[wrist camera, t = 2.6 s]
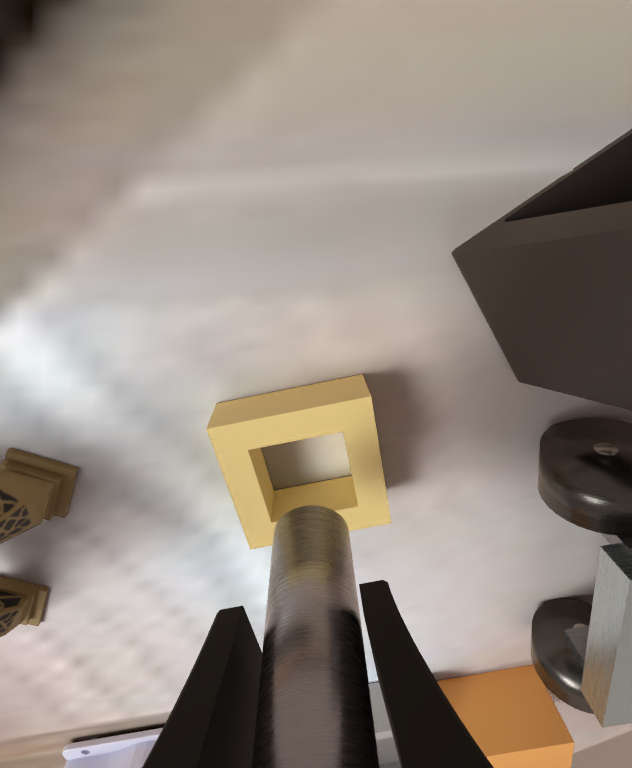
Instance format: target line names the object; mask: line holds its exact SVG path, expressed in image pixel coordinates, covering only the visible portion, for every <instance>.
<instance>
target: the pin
mask: <svg viewBox="0 0 632 768" xmlns="http://www.w3.org/2000/svg"><path fill="white" fill-rule="evenodd" d="M252 768H380V767H379V759H378V752H377V744H376V736H375V729H374V721H373V713H372V706H371V698H370V690H369V683H368V675H367V667H366V660H365V652H364V644H363V637H362V629H361V621H360V614H359V606H358V598H357V591H356V583H355V575H354V568H353V560H352V552H351V545H350V537H349V529H348V525H347V523H346V521H345V520H344V518H343V517H342V516H341V515H340V514H338V513H337V512H335V511H334V510H332V509H329V508H326V507H323V506H316V505H308V506H301V507H298V508H295V509H292V510H290V511H288V512H287V513H285V514H284V515H283V516H282V517H281V518H280V519H279V520H278V522H277V524H276V526H275V529H274V536H273V547H272V558H271V568H270V579H269V589H268V600H267V611H266V621H265V632H264V642H263V653H262V664H261V674H260V685H259V695H258V706H257V717H256V727H255V738H254V748H253V759H252Z"/></svg>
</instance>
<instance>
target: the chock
mask: <svg viewBox="0 0 632 768" xmlns="http://www.w3.org/2000/svg"><path fill="white" fill-rule="evenodd" d="M437 683H438V684H439V686H440V688H441V689H442V691H443V693H444V694H445V696H446V697H447V699H448V700H449V702H450V704H451V705H452V707H453V708H454V710H455V711H456V713H457V715H458V716H459V718H460V719H461V721H462V722H463V724H464V725H465V727H466V728H467V730H468V731H469V733H470V734H471V736H472V737H473V739H474V740H475V742H476V743H477V745H478V746H479V747H480V749H481V750H482V752H483V753H484V755H485V756H486V757H487V759H488V760H489V762H490V763H491V765H492V766H493V767H494V768H571V763H572V755H573V748H574V741H573V739H572V737H571V735H570V733H569V731H568V729H567V727H566V725H565V723H564V721H563V719H562V718H561V716H560V714H559V712H558V710H557V708H556V706H555V704H554V702H553V700H552V698H551V696H550V694H549V692H548V690H547V689H546V687H545V685H544V683H543V682H542V680H541V679H540V677H539V676H538V674H537V672H536V670H535V668H534V665H528V666H522V667H516V668H510V669H504V670H498V671H492V672H486V673H480V674H474V675H469V676H463V677H457V678H451V679H445V680H439V681H437Z"/></svg>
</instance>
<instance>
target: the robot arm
mask: <svg viewBox="0 0 632 768" xmlns="http://www.w3.org/2000/svg"><path fill="white" fill-rule="evenodd" d="M359 586H360V593H361V599H362V605H363V612H364V617H365V622H366V626H367V631H368V635H369V640H370V644H371V648H372V653H373V657H374V662H375V666H376V671H377V675H378V680H379V684H380V688H381V692H382V696H383V700H384V703H385V707H386V711H387V715H388V719H389V723H390V727H391V730H392V734H393V738H394V742H395V746H396V750H397V754H398V758H399V761H400V765H401V768H494V767H493V766H492V765H491V763H490V762H489V760H488V759H487V757H486V756H485V755H484V753H483V752H482V750H481V749H480V747H479V746H478V745H477V743H476V742H475V740H474V739H473V737H472V736H471V734H470V733H469V731H468V730H467V728H466V727H465V725H464V724H463V722H462V721H461V719H460V718H459V716H458V715H457V713H456V711H455V710H454V708H453V707H452V705H451V704H450V702H449V700H448V699H447V697H446V696H445V694H444V693H443V691H442V689H441V688H440V686H439V684H438V683H437V681H436V679H435V678H434V676H433V674H432V673H431V671H430V669H429V667H428V666H427V664H426V662H425V660H424V659H423V657H422V655H421V653H420V652H419V650H418V648H417V646H416V645H415V643H414V641H413V639H412V637H411V635H410V633H409V631H408V629H407V627H406V625H405V623H404V621H403V619H402V617H401V615H400V613H399V610H398V608H397V606H396V604H395V601H394V599H393V596H392V594H391V591H390V588H389V585H388V582H386V581H384V580H380V581H375V582H369V583H364V584H359ZM261 664H262V651H261V649H260V647H259V644H258V642H257V639H256V637H255V634H254V632H253V629H252V627H251V624H250V622H249V619H248V617H247V615H246V612H245V610H244V607H243V606H239V607H233V608H228V609H222V610H220V611H219V612H218V613H217V615H216V617H215V619H214V622H213V624H212V626H211V629H210V631H209V633H208V636H207V638H206V640H205V642H204V645H203V647H202V649H201V651H200V654H199V656H198V658H197V660H196V662H195V664H194V667H193V669H192V671H191V673H190V675H189V677H188V679H187V681H186V683H185V685H184V687H183V689H182V691H181V693H180V696H179V698H178V700H177V702H176V704H175V706H174V708H173V710H172V712H171V714H170V716H169V718H168V720H167V722H166V723H165V725H164V727H163V728H158V729H152V730H146V731H140V732H134V733H128V734H122V735H116V736H111V737H105V738H99V739H93V740H87V741H81V742H75V743H70V744H67V745H66V746H65V747H64V750H63V752H62V754H63V756H64V757H65V759H66V760H67V762H66V765H65V767H64V768H252V759H253V748H254V738H255V727H256V717H257V706H258V695H259V685H260V674H261Z"/></svg>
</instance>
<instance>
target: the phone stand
mask: <svg viewBox="0 0 632 768" xmlns="http://www.w3.org/2000/svg"><path fill="white" fill-rule="evenodd" d="M452 255H453V257H454V259H455V261H456V263H457V265H458V267H459V269H460V271H461V273H462V274H463V276H464V278H465V280H466V282H467V284H468V286H469V288H470V290H471V292H472V294H473V295H474V297H475V299H476V301H477V303H478V305H479V307H480V309H481V311H482V313H483V315H484V317H485V318H486V320H487V322H488V324H489V326H490V328H491V330H492V332H493V334H494V336H495V338H496V339H497V341H498V343H499V345H500V347H501V349H502V351H503V353H504V355H505V357H506V359H507V361H508V362H509V364H510V366H511V368H512V370H513V372H514V374H515V376H516V378H517V380H518V381H519V382H522V383H526V384H530V385H534V386H538V387H542V388H546V389H550V390H554V391H558V392H562V393H565V394H569V395H573V396H577V397H581V398H585V399H589V400H593V401H597V402H601V403H605V404H609V405H613V406H617V407H621V408H625V409H629V410H632V129H631V130H630V131H628V132H627V133H625V134H624V135H622V136H621V137H619V138H618V139H616V140H615V141H613V142H612V143H610V144H609V145H607V146H606V147H605V148H603V149H602V150H600V151H599V152H597V153H596V154H594V155H593V156H591V157H590V158H588V159H587V160H585V161H584V162H582V163H581V164H579V165H578V166H577V167H575V168H574V170H573V171H572V172H571V173H569V174H567V175H564V176H562V177H560V178H559V179H557V180H556V181H554V182H553V183H552V184H550V185H549V186H547V187H546V188H544V189H543V190H541V191H540V192H538V193H537V194H535V195H534V196H532V197H531V198H529V199H528V200H526V201H525V202H524V203H522V204H521V205H519V206H518V207H516V208H515V209H513V210H512V211H510V212H509V213H507V214H506V215H504V216H503V217H501V218H500V219H499V220H497V221H496V222H494V223H493V224H491V225H490V226H488V227H487V228H485V229H484V230H482V231H481V232H479V233H478V234H476V235H475V236H473V237H472V238H471V239H469V240H468V241H466V242H465V243H463V244H462V245H460V246H459V247H457V248H456V249H455V250H454V251H453V252H452Z"/></svg>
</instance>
